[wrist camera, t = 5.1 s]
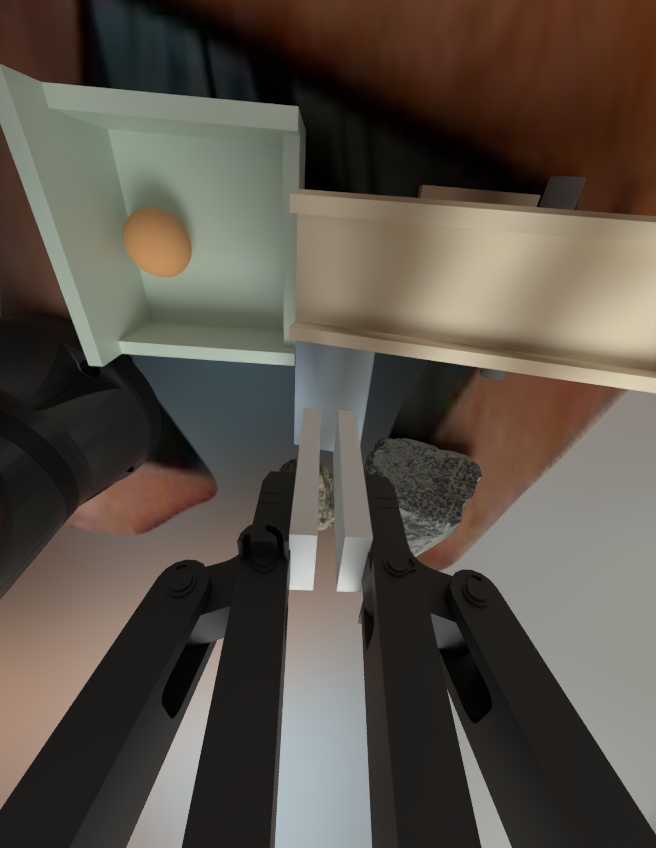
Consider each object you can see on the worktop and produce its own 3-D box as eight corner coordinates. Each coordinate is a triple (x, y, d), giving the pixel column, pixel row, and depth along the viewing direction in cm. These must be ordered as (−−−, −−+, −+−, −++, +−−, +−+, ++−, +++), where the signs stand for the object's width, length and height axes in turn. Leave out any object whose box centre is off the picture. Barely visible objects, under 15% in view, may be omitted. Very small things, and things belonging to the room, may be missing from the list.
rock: (252, 473, 33) (241, 507, 29) (322, 447, 31) (320, 480, 27) (286, 516, 36) (281, 551, 32) (350, 495, 34) (353, 530, 31)
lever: (302, 427, 21) (280, 470, 18) (311, 163, 14) (276, 144, 10) (635, 489, 19) (688, 555, 15) (876, 200, 11) (1104, 191, 7)
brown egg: (185, 284, 19) (202, 274, 22) (173, 210, 17) (194, 210, 20) (120, 280, 18) (147, 270, 21) (100, 204, 16) (132, 205, 19)
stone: (474, 514, 20) (379, 590, 25) (508, 489, 28) (431, 550, 33) (381, 412, 25) (314, 492, 29) (432, 414, 33) (373, 477, 37)
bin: (147, 328, 24) (88, 365, 18) (94, 110, 18) (-23, 61, 12) (300, 339, 25) (291, 379, 19) (305, 130, 18) (293, 92, 12)
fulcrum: (394, 319, 24) (420, 364, 17) (419, 185, 19) (467, 171, 12) (574, 333, 24) (669, 381, 17) (638, 205, 20) (800, 202, 13)
